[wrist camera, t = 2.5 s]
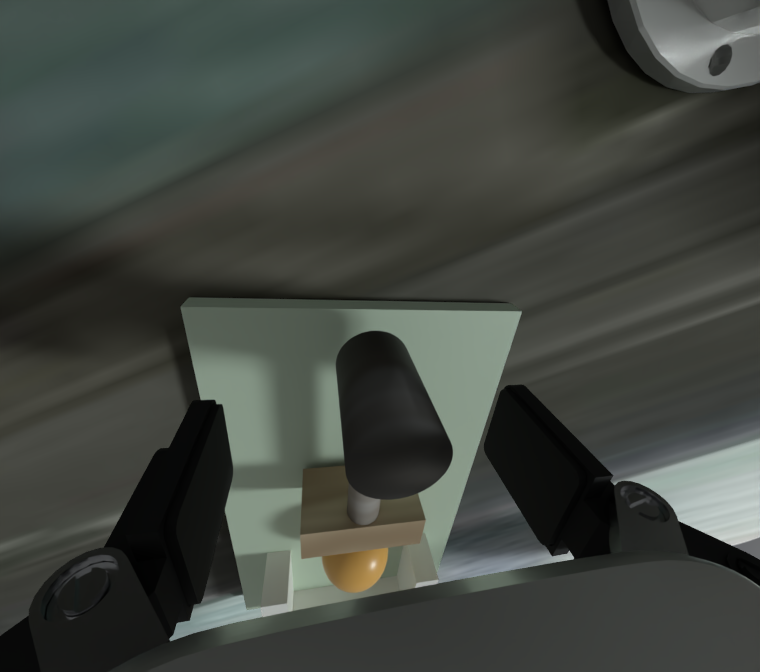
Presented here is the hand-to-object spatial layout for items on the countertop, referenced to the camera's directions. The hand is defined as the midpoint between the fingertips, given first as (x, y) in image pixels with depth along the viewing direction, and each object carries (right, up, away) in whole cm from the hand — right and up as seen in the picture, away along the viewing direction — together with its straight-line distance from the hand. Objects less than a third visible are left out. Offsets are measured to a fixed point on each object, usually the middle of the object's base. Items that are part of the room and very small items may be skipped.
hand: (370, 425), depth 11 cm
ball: (-1, -10, +9) cm, 13 cm away
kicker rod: (-1, -1, +6) cm, 6 cm away
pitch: (-1, -6, +10) cm, 12 cm away
